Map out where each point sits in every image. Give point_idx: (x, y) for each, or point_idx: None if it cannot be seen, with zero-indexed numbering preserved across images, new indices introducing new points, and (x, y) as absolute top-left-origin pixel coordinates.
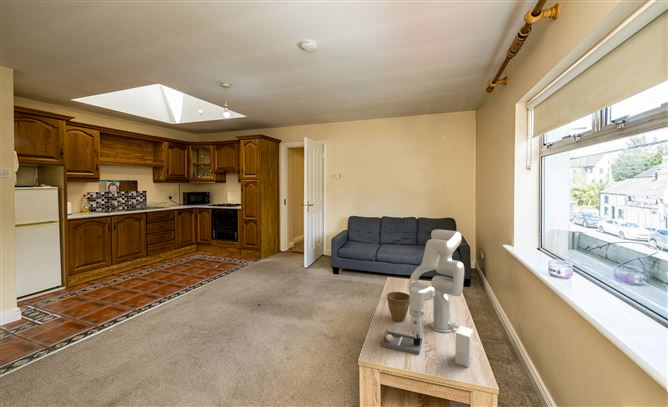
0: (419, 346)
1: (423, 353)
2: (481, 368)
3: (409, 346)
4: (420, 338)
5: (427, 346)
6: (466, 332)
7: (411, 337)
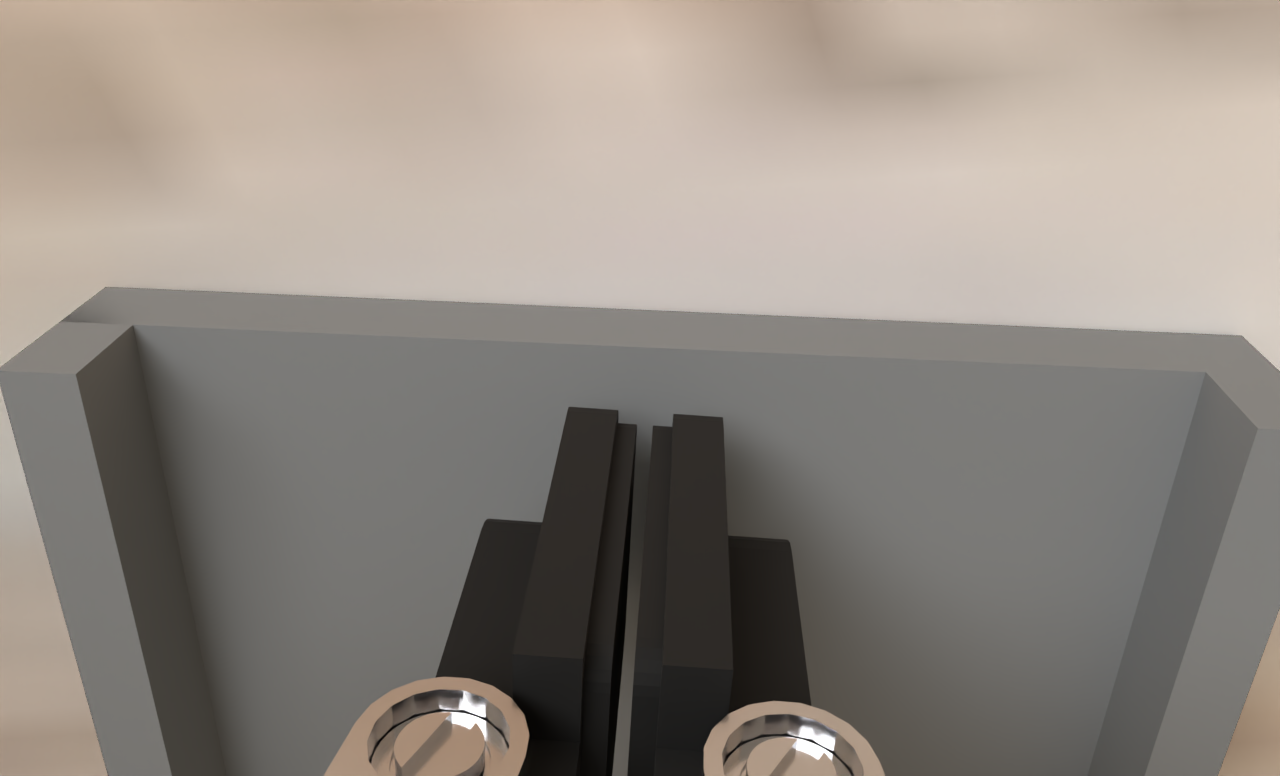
0: (693, 396)
1: (1063, 159)
2: None
3: None
4: (96, 441)
5: (371, 10)
6: None
7: (192, 754)
